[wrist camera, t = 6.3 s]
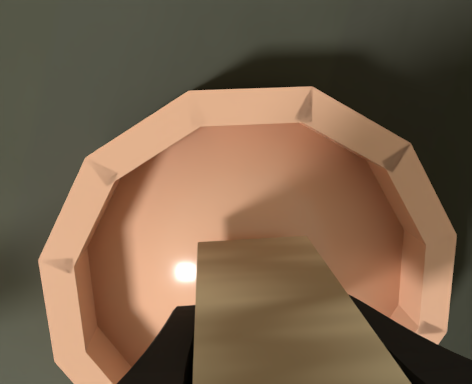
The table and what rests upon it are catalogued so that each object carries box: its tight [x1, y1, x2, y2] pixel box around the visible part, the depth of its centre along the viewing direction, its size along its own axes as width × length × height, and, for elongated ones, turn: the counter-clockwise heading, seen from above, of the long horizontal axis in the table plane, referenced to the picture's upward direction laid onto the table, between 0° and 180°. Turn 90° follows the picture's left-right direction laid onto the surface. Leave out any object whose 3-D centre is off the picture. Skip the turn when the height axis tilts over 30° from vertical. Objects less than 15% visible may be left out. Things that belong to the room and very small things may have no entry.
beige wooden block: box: [192, 236, 411, 384], centre depth 10 cm, size 4×4×8 cm
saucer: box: [38, 86, 457, 384], centre depth 14 cm, size 13×13×2 cm
